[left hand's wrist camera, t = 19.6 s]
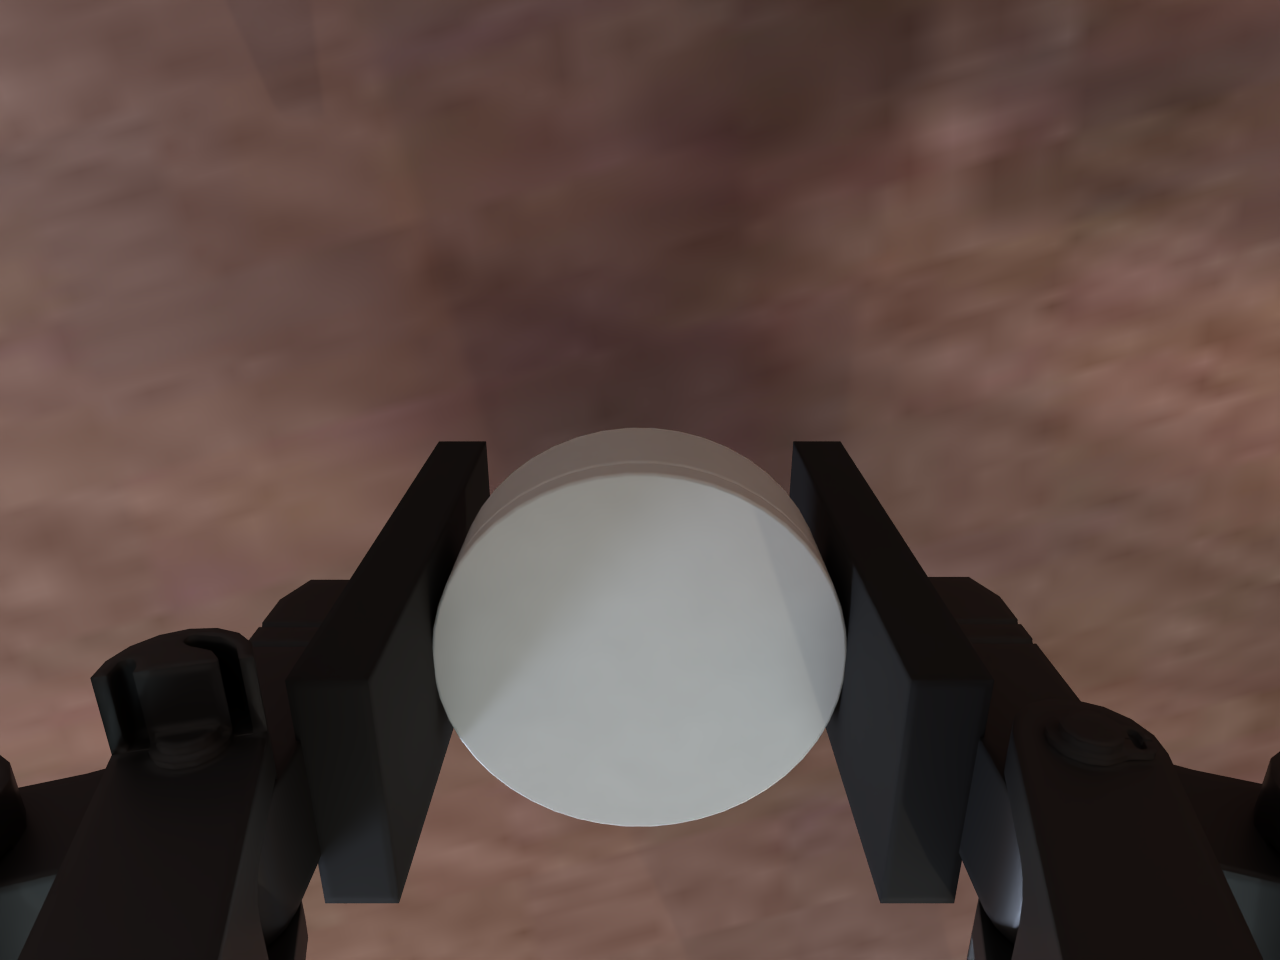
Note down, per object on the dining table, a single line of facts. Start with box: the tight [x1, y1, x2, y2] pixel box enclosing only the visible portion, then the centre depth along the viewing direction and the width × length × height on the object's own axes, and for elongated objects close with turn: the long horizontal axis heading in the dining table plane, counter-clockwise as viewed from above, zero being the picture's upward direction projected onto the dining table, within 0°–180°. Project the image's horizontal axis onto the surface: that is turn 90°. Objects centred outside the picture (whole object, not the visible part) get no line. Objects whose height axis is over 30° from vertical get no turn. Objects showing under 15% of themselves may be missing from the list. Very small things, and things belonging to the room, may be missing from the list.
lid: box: [432, 428, 847, 826], centre depth 11 cm, size 5×5×2 cm
